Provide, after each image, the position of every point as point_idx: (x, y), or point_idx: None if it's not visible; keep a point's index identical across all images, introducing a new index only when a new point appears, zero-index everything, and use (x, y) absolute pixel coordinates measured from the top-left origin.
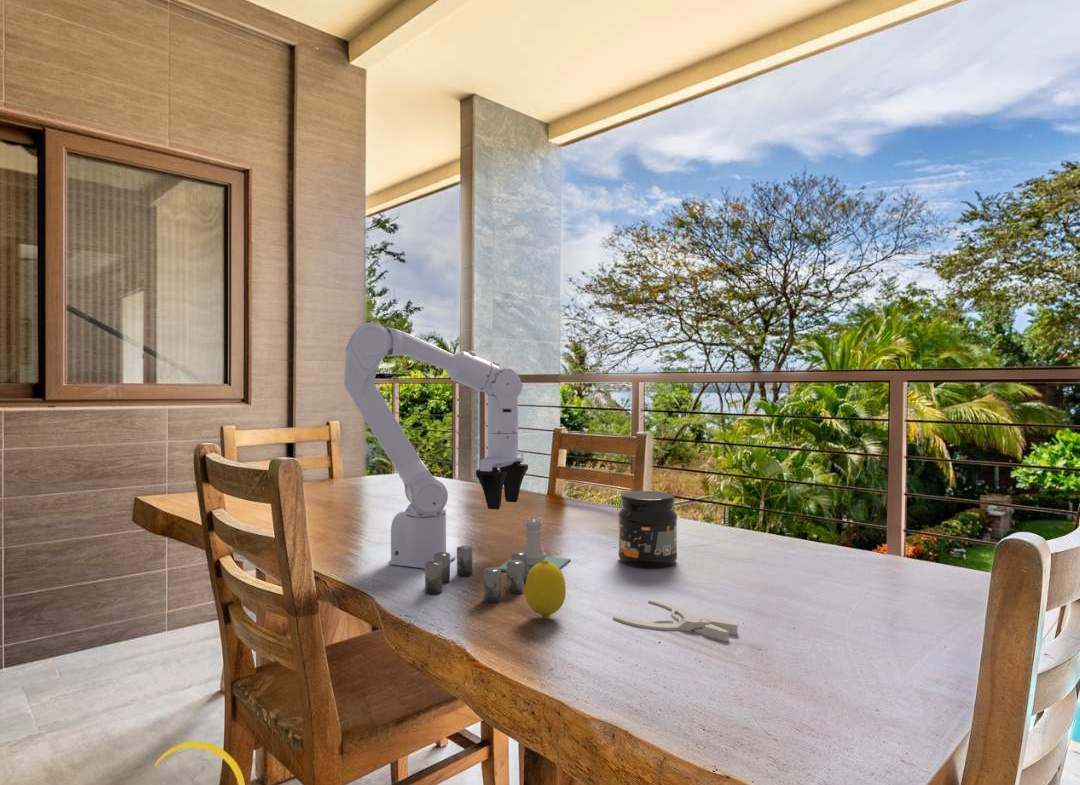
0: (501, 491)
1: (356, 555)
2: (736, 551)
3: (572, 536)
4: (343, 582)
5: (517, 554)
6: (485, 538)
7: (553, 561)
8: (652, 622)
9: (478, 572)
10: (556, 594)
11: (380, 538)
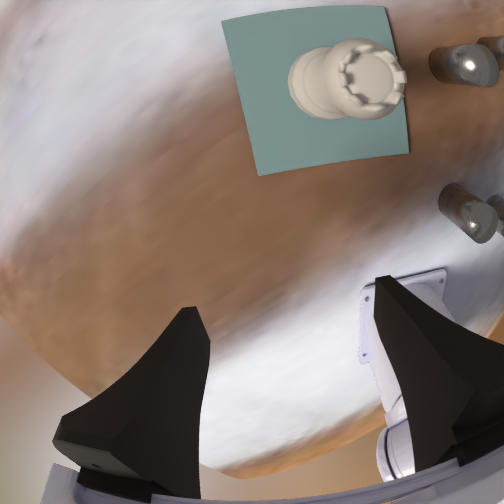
0: (421, 320)
1: None
2: None
3: (25, 188)
4: (499, 320)
5: (492, 66)
6: None
7: (274, 45)
8: None
9: (431, 182)
10: None
11: (290, 429)
